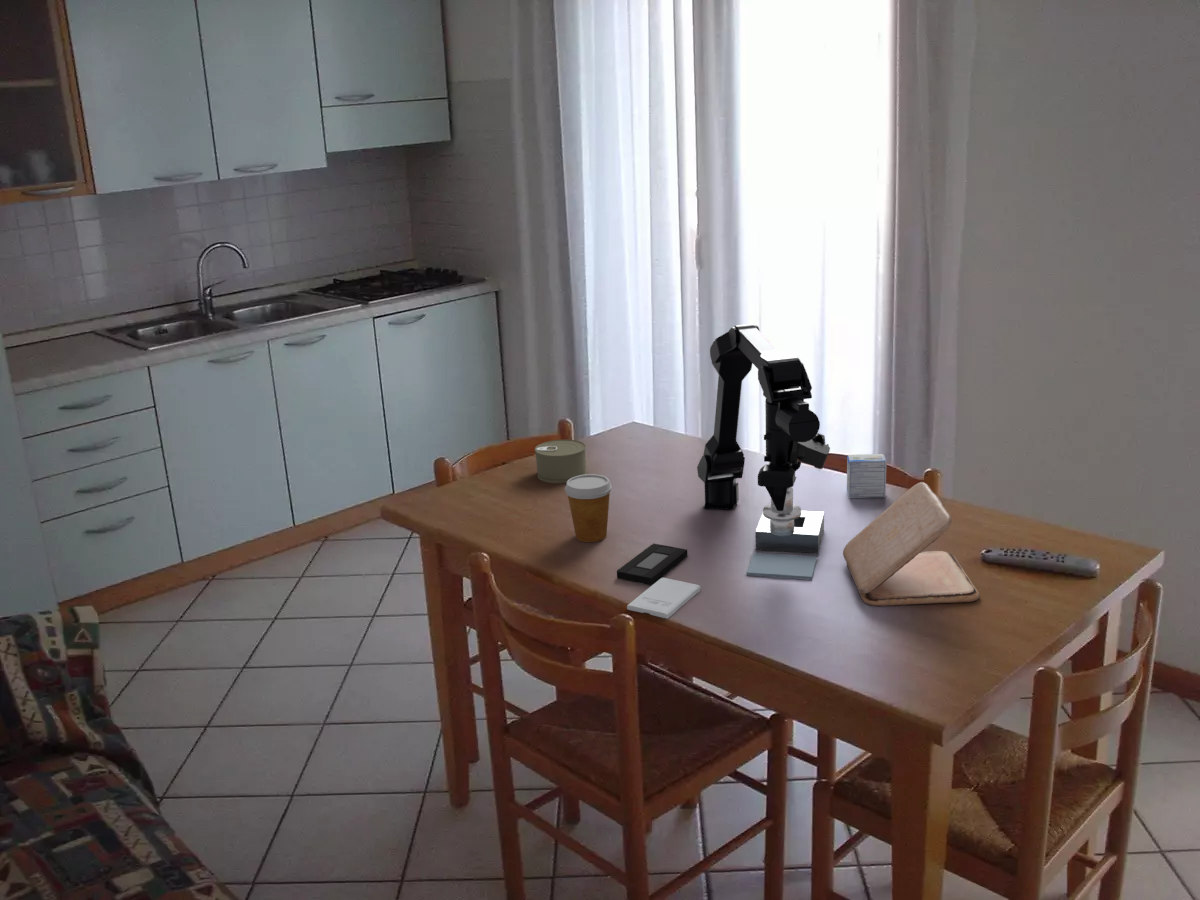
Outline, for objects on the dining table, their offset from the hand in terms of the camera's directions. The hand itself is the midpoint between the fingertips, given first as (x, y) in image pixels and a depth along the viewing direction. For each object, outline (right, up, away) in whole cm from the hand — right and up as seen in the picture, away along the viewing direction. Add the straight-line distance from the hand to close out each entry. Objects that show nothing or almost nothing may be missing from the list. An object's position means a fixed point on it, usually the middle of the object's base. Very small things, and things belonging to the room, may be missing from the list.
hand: (781, 506), depth 211 cm
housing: (+4, -8, +16) cm, 18 cm away
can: (-43, +4, +60) cm, 73 cm away
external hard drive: (-22, -17, -6) cm, 29 cm away
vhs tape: (-23, -13, +7) cm, 28 cm away
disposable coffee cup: (-35, -8, +23) cm, 43 cm away
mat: (+1, -12, +4) cm, 12 cm away
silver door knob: (0, -5, +2) cm, 5 cm away
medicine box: (+24, 0, +37) cm, 44 cm away
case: (+22, -14, -4) cm, 26 cm away
